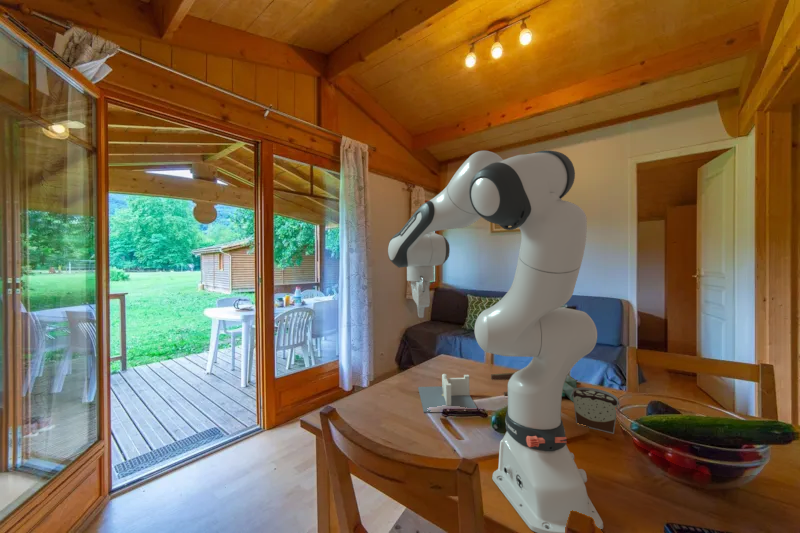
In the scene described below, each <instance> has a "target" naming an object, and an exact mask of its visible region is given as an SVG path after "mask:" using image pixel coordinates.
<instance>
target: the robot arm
mask: <svg viewBox="0 0 800 533" xmlns="http://www.w3.org/2000/svg"><path fill="white" fill-rule="evenodd" d="M575 178H576V170H575V165H574V164H573V162H572V160H571V159H570V157H568V156H567V154H564V153H562V152H559V151H556V150H540V151H536V152H534V153H533V152H532V153H528V154H517V155H514V156H511V157H507V158H505V159H503V158H502V157H501V156H500V155H499V154H497V153H496V152H493V151H489V150H478V151H476V152H474V153H472V154H471V155H469V157H468V158H466V160H465V161H464V162H463V163H462V164H461V165H460V166H459V168H458V169H457V170H456V172H455V173H454V175H453V176H452V178H451V179H450V181H449V182H448V184H447V186H445V188H444V189H443V190H441V191H440V192H439V193H438V194H436V196H434V197H433V198H431V199H429V200H427V201H425V202H424V203H422V204H421V205H420V206H419V207H418V209H417V210H415V212H414V213H413V215H412V216H411V217H410V218H409V219H408V221H406V223H405V224H404V225H403V227H402V228H401V229H400V231H399V232H396V233H395V234H394V235H393V236H391V238H390V239H389V243H388V246H387V256H388V259H389V261H390V262H391V263H392V264H393V265H395V266H396V267H397V268H398V269H399V268H406V281H407V282H410V286H411V294H412V299H413V301H414V303H415V304H416V309H417V310H416V312H417V316H418V318H419V319H423V318H424V317H425V308H429V307H430V304H431V301H430V298H431V297H430V286H431V281H432V282H433V281H434V280H435V279H434V278H435V277H434V275H435V274H434V266H435V267H436V266H442V265H443V264H445V263H446V261H447V260H448V258H449V257H450V252H451V251H450V244H449V241H448V239H447V238H446V237H445V236H444V235H441V234H438V233H436V232H438V231H443V230H445V231H446V230H455V229H456V230H457V229H463V228H467V227H470V226H472V225H473V224H475V223H476V222H478V221H479V220H481V219H483V220H485V221H487V222H489V223H492V224H496V225H499V226H500V227H501V228H503V229H504V230H508V231H513V230H516V229H519V230H520V234H521V236H520V237H521V238H520V239H521V240H520V246H519V252H518V257H517V263H516V269H515V273H514V276H513V280H512V283H511V286H510V287H509V289H508V290H507V292H506V293H505V295H504V296H503V297H502V298H500V300H498V301H497V302H496V303H495V304H493V305H492V306H489V307H488V308H486V309H484V310H482V311H481V313H479V315H478V316H477V318H476V319H475V323H474V331H473V333H474V336H475V340H476V342H477V344H478V346H479V347H480V348H481V350H483V351H484V353H489V354H493V355H498V356H501V357H513V358H514V357H517V358H518V357H526V358H532V360H531V361H530V362H529V363H528V364H527V366H525V367H523V368H521V369H519V370H517V371H515V372H513V373H514V374H513V375H512V376H511V378H510V379H509V380H508V381H507V392H508V398H507V410H506V412H505V413H506V414H505V417H504V418H505V420H504V422H505V430H506V432H505V434H504V436H503V437H502V439H501V440H500V441H499V453H498V466H497V467H498V468H497V469H495V470H494V471H493V473H492V478H491V479H492V481H493V482H494V483H495V485H496V486H497V487H498V488H499V490H500V491H501V492H502V494H503V495H504V496H505V498H506V500H508V502H509V503H510V504H511V506H512V507H513V509H514V510H515V511H516V512H517V514H518V515H519V517H520V518H521V519H522V520H523V522H524V523H525V525H526V526H527V527H528V528H529V529H530V530H531V531H532V532H535V533H565V527H566V523H567V520H568V517H569V514H570V511H572V510H573V511H577V512H579V513H582V514H585V515H587V516H590V517H592V518H593V519H594V521H595V524H596V526H597V527H598V528H600V529H602V530H603V529H604V522H603V520H602V518H601V516H600V514H599V513H598V511H597V510H596V508H595V505H594V504H593V503H592V500H591V499H590V497H589V496H588V492H587V487H586V484H585V483H587V481H588V478H587V477H588V476H587V473H586V471H585V470H584V469H583V468H578V466H577V464H576V462H575V455H574V453H573V452H571V451H570V450H569V448H568V446H567V443H568V441H567V439H568V437H567V436H566V429H565V426H564V422H563V420H562V398H563V396H562V390H563V385H564V382H565V380H566V377H567V375H569V373H570V371H571V370H572V369H573V367H574V366H575V365H576V364H577V363H578V362H579V361H581V359H583V358H584V357H586V356H588V354H590V353H591V352H592V351H593V350H594V348H595V346H596V344H597V342H598V341H597V340H598V329H597V326H596V323H595V322H594V320H593V319H592V318H591V316H590V315H589V314H588V313H587V312H586V311H582V310H579V309H573V308H568V307H563V306H565V304H567V303H568V302H569V301H570V300H571V298H572V296H573V294H574V292H575V291H574V290H575V288H576V285H577V281H578V280H577V279H578V277H579V273H580V270H581V266H582V263H583V258H584V253H585V248H586V243H587V242H586V241H587V232H588V220H587V219H588V218H587V215H586V212H585V211H584V210H583V208H582V207H580V206H579V205H577V204H576V203H573V202H571V201H569V200H568V201H567V200H563V198H564V197H565V196H566V195H567V194H568V193H569V192H570V190H572V189H571V188H572V187H573V185H574V182H575Z"/></svg>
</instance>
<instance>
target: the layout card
mask: <svg viewBox="0 0 800 533" xmlns="http://www.w3.org/2000/svg"><path fill="white" fill-rule="evenodd" d="M417 389H418V393H419V397H420V402H421V407H422V409H423V414H427V413H426V412H430V411H431V410H428V409H427V408H429V407H437V406H442V405H446V401H445V398H444V395H442V385H441V386H437V385H436V386H418V388H417ZM451 406H460V407H465V408H466V407H467V408H478V407H477V405H476V403H475V402H474V400H473V398H472V397H471V395H470V394H469V395H456V396H451ZM427 410H428V411H427Z"/></svg>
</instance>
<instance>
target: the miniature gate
mask: <svg viewBox="0 0 800 533" xmlns="http://www.w3.org/2000/svg"><path fill="white" fill-rule="evenodd" d="M514 373H515V372H505V373H503V372H502V373H492V374H490V379H491V380H492V381H493V380H495V381H496V380H498V381H499V380H504V381H505V380H508V381H509V380H510V378H511V376H512V375H513V374H514ZM578 385H581V382H579V381H578V379H575V378H574V377H573V376H571V375H569V374H568V375H567V377H566V380H565V382H564V385H563V390H562V397H567V398H568V399H569V400H570V401H571V402H572V403H574V401H573V396H572V397H571V393H572V392H573V390H574V389H576V388H578ZM503 396H508V391H503Z"/></svg>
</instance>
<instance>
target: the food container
mask: <svg viewBox="0 0 800 533" xmlns="http://www.w3.org/2000/svg"><path fill="white" fill-rule="evenodd" d="M572 396H573V401H574V402H573V401H572V402H573V406H574V414H575V424H576V423H579V424H583V425H586V426H588V427H589V429H593V430H598V431H602V432H605V433H608V434H613V435H614V434H615V428H616V422H617V421H616V420H617V415H616V410H615V407H617V408H618V406H619V408H621V404H620V401H619V399H618V397H617V396H616V395H614V394H613V393H611V392H608V391H606V390H602V389H599V388H593V387H584V386H583V387H577V388H576V389H574V390H573V392H572V393H571V397H572ZM588 427H587V428H588Z"/></svg>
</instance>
